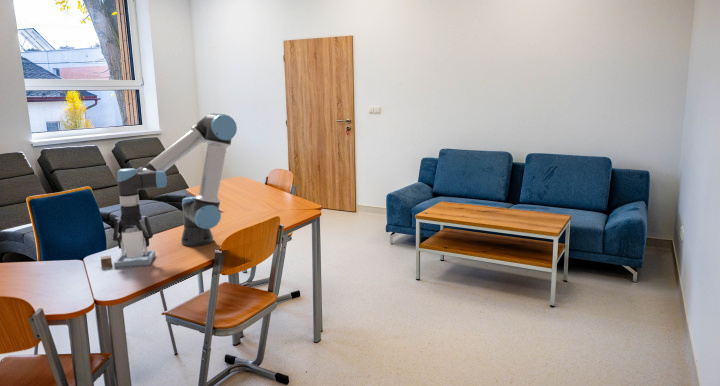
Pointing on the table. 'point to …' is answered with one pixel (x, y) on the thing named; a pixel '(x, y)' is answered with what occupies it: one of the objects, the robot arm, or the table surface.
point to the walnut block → (106, 261)
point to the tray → (134, 260)
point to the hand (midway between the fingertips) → (135, 254)
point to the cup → (133, 243)
